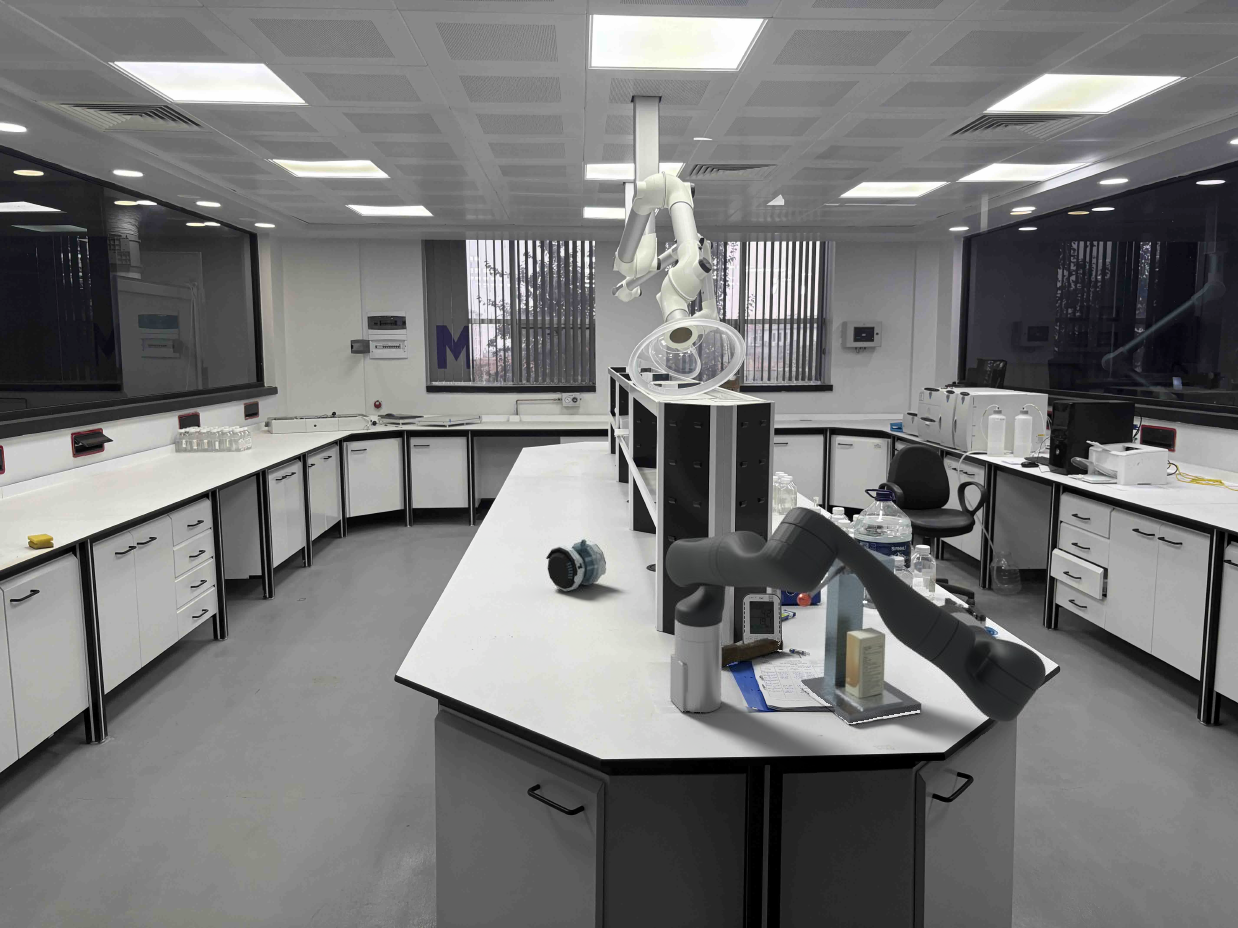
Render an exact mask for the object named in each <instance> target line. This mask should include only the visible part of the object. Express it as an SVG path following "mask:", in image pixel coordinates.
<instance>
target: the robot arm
mask: <svg viewBox="0 0 1238 928" xmlns="http://www.w3.org/2000/svg"><path fill="white" fill-rule="evenodd" d="M864 547H865V546H863V545H862V544H861V543H859V541H857V540H856V539H855V538H853V537H852V536H851V535H850V534H849V533H848V532H846V531H845V529H843V528H842V527H840V526H839V525H838V524H836V523H835V522H833V521H832V520H831V519H829V518H828V517H826V516H825V515H823V514H821V513H819V512H817V511H816V510H813V509H811V508H807V507H803V506H795V507H792V508H791V509H790V510H788V511H787V513H786V514H785V515H784V517H783V519H782V520H781V521H780V523H779V524H778V525H777V527H776V528H775V530H774V532H772V535H771V536H770V537H769V539H768V540H767V541H766V540H765V539H764V538H763V537H762V536H761V535H759V534H758V533H756V532H753V531H749V530H737V531H731V532H726V533H722V534H719V535H715V536H710V537H695V538H694V537H693V538H681V539H677V540H676V541H674V542H672V544H671V545H670V546H669V548H668V549H667V553H666V556H665V568H666V572H667V575H668V576H669V578H670V580H671V582H673V583H674V584H675V585H676V586H678V587H681V588H693V587H695V588H697V587H699V588H698V589H697V590H696V591H695V592H694V593H693V594H691V595H690V596H687V597H686V598H683V599H682V600H680V601H678V602H677V603H676V605H675V608H674V609H675V610H674V653H672V654H671V655H670V679H669V681H670V683H669V685H670V687H669V688H670V691H669V692H670V694H669V695H670V696H669V699H671V700H670V701H671V702H672V703H673V704H674V706H675V707H676V708H677V707H678V708H679V709H680V710H681V711H682V712H681V711H680V710H679V709H678V708H677V709H678V710H679V711H680V712H681V713H687V712H686V711H690V712H689V713H694V712H700V714H701V712H705V713H710V712H713V711H716V710H718V709H719V708H720V707H721V704H722V702H721V701H722V667H721V666H722V647H723V613H724V609H725V604H726V602H725V601H726V587H729V588H747V587H748V588H750V587H756V588H759V587H760V588H770V589H775V590H780V591H784V592H789V593H796V594H802V593H806V594H807V593H808V592H811V591H813V590H814V589H815V588H816V587H817V586H818V585H819V584H820V583H821V582H822V580H823V579H824V578H825V577H826V575H828V571H829V569H830V568H831V566H832V565H833V563H834V561H835V560H836V559H838V560H839V561H841V562H842V563H843V564H845V565H846V566H847V567H848V568H849V569H850V570H851V571H852V572H853V573H854V574H855V575H856V576H857V577H858V579H859V580H860V581H861V583H862V584H863V586H864V590H865V589H866V591H867V592H868V594H869V596H870V598H871V600H872V601H873V603H874V605H875V607H876V609H875V610H876V611H877V613H878V615H879V617H880V618H881V620H882V622H883V624H884V625H885V627H886V628H887V630H888V631H889V632H890V633H891V635H893V636H894V638H896V640H898V641H899V642H900V643H902V644H903V646H905V647H907V648H909V650H912V651H913V652H914V653H916V654H918V655H919V656H920V657H922V658H923V659H924V660H927V662H929V663H931V664H933V665H934V666H935V667H937V669H939V670H940V671H941V672H942V673H944V674H945V675H946V676H947V677H949V678H950V679H951V681H953V682H954V683H955V684H956V686H957V687H958V688H959V689H960V690H961V691H962V692H963V694H964V695H965V696H966V697H967V698H968V699H969V701H970V702H971V703H972V704H973V705H974V706H975V707H976V708H977V710H979V712H981V713H982V714H983V715H985V717H987V718H989V719H991V720H993V721H996V722H1000V723H1001V722H1002V723H1005V722H1006V723H1008V722H1012V721H1014V720H1015V719H1017V717H1018V716H1019V715H1020V714H1021V712H1022V711H1023V710H1024V708H1025V706H1026V705H1028V703H1029V701H1030V700H1031V699H1032V698H1033V696H1034V695H1035V694H1036V692H1037V691H1038V689H1039V688H1040V687H1041V686H1042V684H1043V683H1044V680H1045V678H1046V675H1047V673H1046V672H1047V671H1046V666H1045V663H1044V661H1043V659H1042V658H1041V656H1039V655H1038V654H1037V653H1036V652H1035V651H1034V650H1032V649H1030V648H1029V647H1027V646H1025V645H1022V644H1020V643H1017V642H1014V641H1011V640H1007V639H1001V638H996V636H994V635H993V634H991V633H990V632H989V631H988V630H987V629H986V627H987V626H986V625H987V615H986V614H984V612H982V610H980V609H979V608H978V607H977V606H976V605H973V604H969V605H968V606H967V607H965V605H964V604H962V603H958V602H957V601H955V600H953V599H952V598H951V597H945V598H944V604H942V605H938V604H936V603H934V602H933V601H931V600H930V599H928V598H927V597H926V596H924V595H922V594H921V593H919V591H917V590H916V589H914V588H913V587H912V586H910V585H909V584H908V583H907V582H905V581H904V580H903V579H901V578H900V576H898V575H897V574H896V573H895V572H894V573H893V572H892V571H891V570H890V569H889V568H888V567H886V566H885V565H884V564H883V563H882V562H881V561H880V560H879V559H877V558H876V557H875V556H874V555H873V554H871V553H870V552H869V551H868V550H867V549H865V548H866V547H865V548H864ZM683 711H685V712H683Z"/></svg>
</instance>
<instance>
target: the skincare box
mask: <svg viewBox="0 0 1238 928" xmlns="http://www.w3.org/2000/svg"><path fill="white" fill-rule="evenodd" d="M885 656H886V634H885V633H884V632H882V631H879V630H877V629H875V628H873V627H866V628H863V629H861V630H855V631H851V632H847V656H846V691H848V692H850V693H851V694H853V695H854V696H856V697H858V698H863V697H868V696H872V695H876V694H880V693H883V692H884V681H885V662H886V661H885V658H886V657H885Z"/></svg>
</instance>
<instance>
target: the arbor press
mask: <svg viewBox="0 0 1238 928" xmlns="http://www.w3.org/2000/svg"><path fill="white" fill-rule="evenodd" d="M863 547H864V548H865V549H867V550H868V551H869V552H870V553H871V554H873V555H874V556H875V557H876V558H877V559H879V560H880V561H881V562H882V563H883V564H884V565H885V566H886V567H888V568H889V569H890V570H891V571H892V572H893V573H895V565H896V559H895V558H894V557H892V556H889V555H886V554H883V553H880V552H878V551H875V550H872V549H870V548H868V547H865V546H863ZM825 587H826V606H825V607H826V608H825V609H826V610H825V611H826V612H825V631H824V632H825V635H824V636H825V637H824V657H823V658H824V659H823V660H824V661H823V662H824V663H823V665H824V666H823V676H820V677H818V676H817V677H812V678H806V679H800V683H801V682H802V683H803V684H804V685H805V686H807V687H808V688H809V689H810V690H811V691H812V692H813V693H815V694H816V695H817V696H818V697H820V698H821V699H823V700H824V701H825V702H826V703H828V704H830V705H832V706H833V707H834V709H835V713H836V714H837V715H838V716H840V717H842V718H843V719H844V720H846V721H847V722H848V723H853V722H858V721H864V720H869V719H873V718H877V717H883V716H889V715H894V714H900V713H905V712H911V711H917V710H921V711H922V703H921V702H920V701H918V700H916V699H915V698H913V697H912V696H910V695H909V694H906V692H903V691H902V690H901V689H899V688H897V687H895V686H894V685H892V684H891V683H889V682H887V681H886V680H884V692H883V693H880V694H876V695H872V696H868V697H863V698H858V697H856V696H854V695H853V694H851V693H850V692H848V691H846V656H847V632H851V631H855V630H861V629H864V628H863V625H864V623H863V622H864V608H866V609H869V610H877V609H876V607H875V605H874V603H873V601H872V600H871V598H870V596H869V594H868V592H867V591H866V589H865V587H864V586H863V584H862V583H861V581H860V580H859V579H858V577H857V576H856V575H855V574H854V573H853V572H852V571H851V570H850V569H849V568H848V567H847V566H846V565H845V564H843V563H842V562H841V561H839V560H838V559H836V560H835V561H834V563H833V565H832V566H831V568H830V569H829V571H828V572H827V576H825V577H824V578H823V580H822V582H821V583H820V584H819V585H818V586H817V587H816V588H815V589H814V590H813V591H811V592H808V593H799V594H798V596H797V598H796V602H797V604H798V605H799V606H800V607H803V608H807V607H809V606H810V605H811V603H812V598H813V597H814V596H815V595H817V594H818V593H819V592H820V591H821V590H823V589H824V588H825Z"/></svg>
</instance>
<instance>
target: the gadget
mask: <svg viewBox="0 0 1238 928" xmlns="http://www.w3.org/2000/svg"><path fill="white" fill-rule="evenodd" d="M604 554H605V553H604V551H602V549H601V548H600V547H599V545H598V544H597V543H595V542H593V541H591V540H588V539H583V538H582V539H581V541H579V542H576V543H573V545H572V546H571V547H569V546H567V545H561V546H558V547H554V548H552V549H550V551H549V552H548V554H547V556H546V557H545V559H546V560H547V561H548V562H547V572H548V576H549V579H550V580H551V582H553V584H554V586H556V588H558V589H559V590H562V591H563V592H568V591H569V592H570V591H573V590H575V589H578V587H579V585H580V584H582V585H584V586H589V585H591V584H594V583H598V581H599V580H600V578H601V577H602V576H604V575H605V574H606V571H607V567H606V565H607V562H606V558H605V555H604Z"/></svg>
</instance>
